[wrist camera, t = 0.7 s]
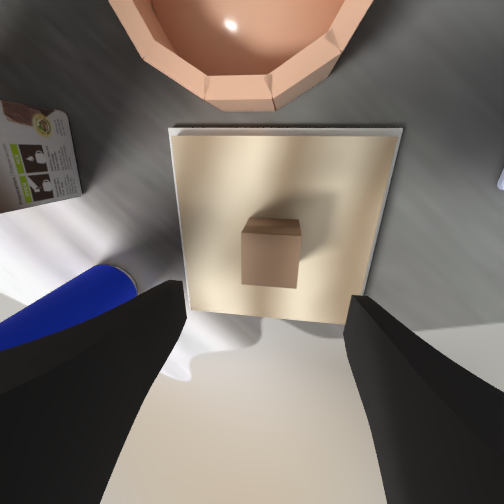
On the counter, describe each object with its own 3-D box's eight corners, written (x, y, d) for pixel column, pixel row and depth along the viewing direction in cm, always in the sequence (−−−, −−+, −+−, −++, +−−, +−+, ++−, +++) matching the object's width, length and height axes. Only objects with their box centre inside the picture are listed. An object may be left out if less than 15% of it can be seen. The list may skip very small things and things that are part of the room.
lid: (392, 137, 14) (431, 132, 11) (351, 319, 20) (366, 360, 16) (176, 136, 16) (140, 131, 12) (194, 304, 22) (173, 338, 18)
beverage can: (82, 261, 22) (-244, 441, 8) (132, 260, 21) (-141, 457, 8) (100, 307, 24) (-140, 511, 10) (146, 307, 23) (-49, 529, 10)
